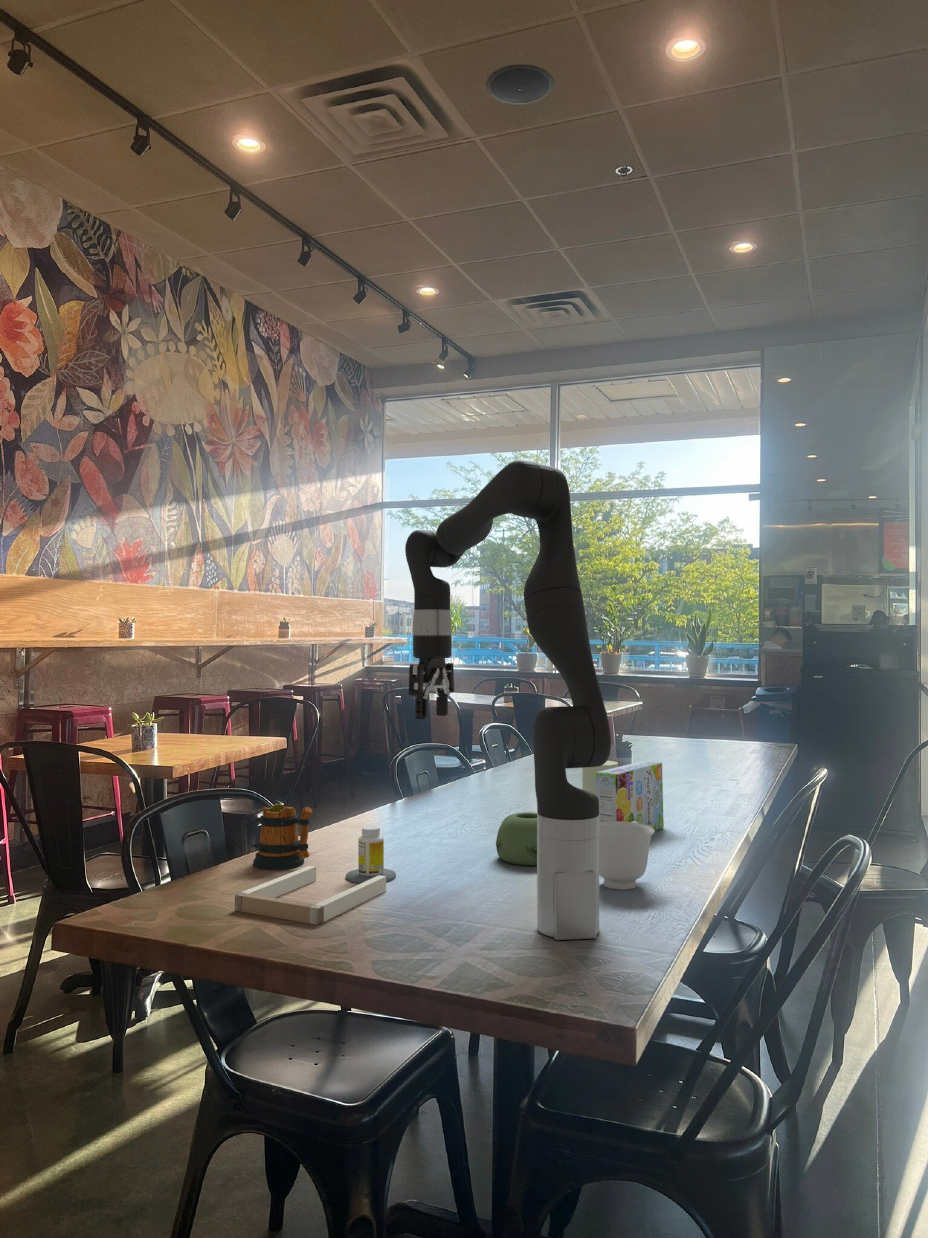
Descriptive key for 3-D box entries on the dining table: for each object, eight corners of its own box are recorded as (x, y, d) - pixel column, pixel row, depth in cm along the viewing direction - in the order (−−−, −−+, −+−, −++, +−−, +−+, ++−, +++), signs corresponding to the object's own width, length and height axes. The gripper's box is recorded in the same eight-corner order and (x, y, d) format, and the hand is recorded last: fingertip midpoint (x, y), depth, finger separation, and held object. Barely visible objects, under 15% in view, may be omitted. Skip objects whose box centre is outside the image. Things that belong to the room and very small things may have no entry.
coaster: (397, 883, 158) (397, 880, 158) (346, 885, 157) (346, 882, 157) (394, 869, 167) (394, 867, 167) (345, 871, 166) (345, 868, 166)
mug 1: (240, 866, 169) (240, 805, 170) (277, 854, 178) (277, 796, 178) (292, 875, 163) (293, 812, 163) (328, 863, 172) (328, 803, 172)
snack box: (642, 825, 207) (642, 760, 207) (664, 828, 203) (664, 762, 204) (594, 841, 190) (594, 770, 191) (617, 845, 187) (617, 773, 187)
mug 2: (543, 871, 166) (543, 825, 166) (483, 862, 173) (483, 817, 173) (578, 854, 180) (578, 810, 180) (521, 845, 187) (521, 804, 187)
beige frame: (309, 879, 160) (309, 865, 160) (386, 891, 153) (386, 876, 153) (234, 910, 142) (234, 894, 142) (317, 925, 135) (318, 908, 135)
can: (574, 806, 229) (574, 759, 229) (604, 803, 233) (604, 757, 233) (594, 813, 221) (594, 764, 221) (625, 810, 225) (625, 762, 225)
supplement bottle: (387, 871, 164) (387, 825, 164) (378, 878, 159) (378, 831, 159) (364, 869, 165) (364, 824, 165) (354, 876, 161) (354, 829, 161)
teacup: (669, 878, 162) (669, 822, 162) (641, 899, 149) (641, 839, 149) (606, 869, 168) (606, 815, 168) (574, 888, 155) (574, 830, 155)
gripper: (432, 633, 165) (431, 721, 165) (465, 633, 178) (465, 715, 178) (396, 633, 169) (396, 719, 168) (432, 633, 181) (432, 713, 181)
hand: (432, 717), depth 173 cm, fingers open, 8 cm apart
